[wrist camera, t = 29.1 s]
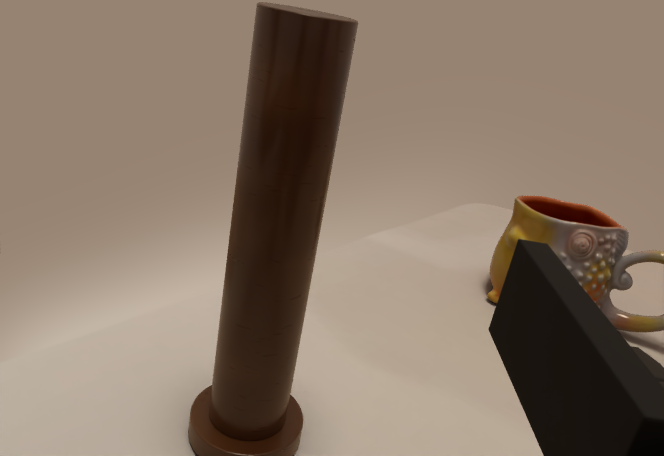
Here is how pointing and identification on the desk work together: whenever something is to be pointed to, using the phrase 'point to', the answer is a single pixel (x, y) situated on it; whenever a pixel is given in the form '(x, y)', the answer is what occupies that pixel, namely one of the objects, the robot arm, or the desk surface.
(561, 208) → the mug
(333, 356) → the desk surface
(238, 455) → the brown cylinder rod
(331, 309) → the desk surface
